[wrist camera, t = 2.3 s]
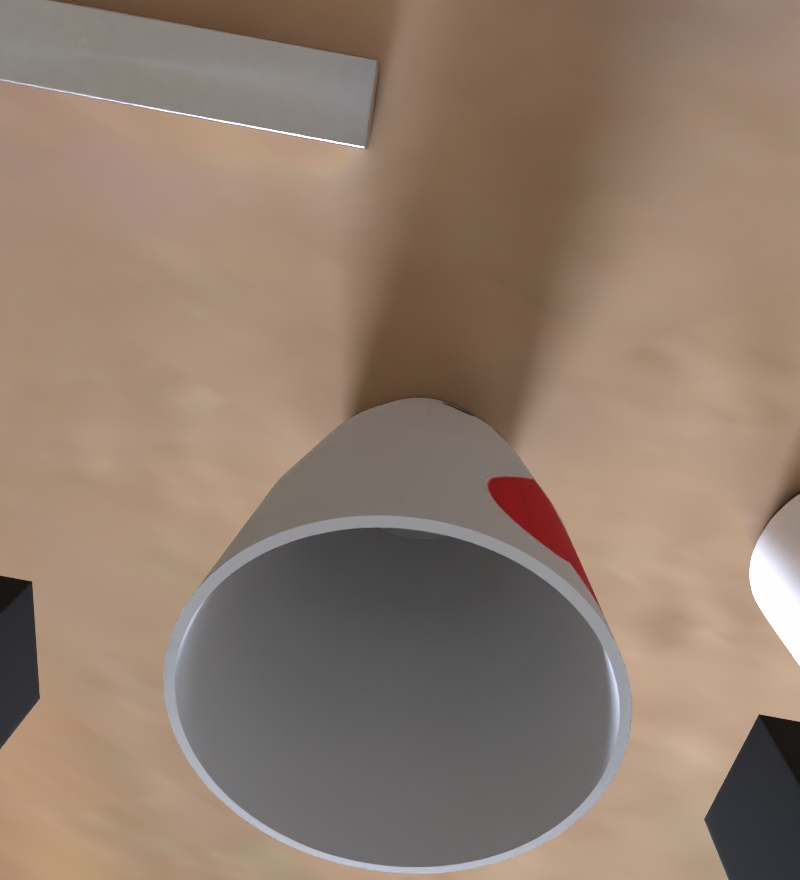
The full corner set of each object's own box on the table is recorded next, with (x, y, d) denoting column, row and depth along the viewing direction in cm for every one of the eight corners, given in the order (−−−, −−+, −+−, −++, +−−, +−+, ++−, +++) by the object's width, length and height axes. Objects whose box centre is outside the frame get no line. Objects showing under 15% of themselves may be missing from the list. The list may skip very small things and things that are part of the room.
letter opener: (381, 49, 16) (377, 40, 15) (366, 162, 17) (360, 161, 16) (-325, -82, 16) (-384, -102, 15) (-298, 38, 17) (-351, 28, 16)
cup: (561, 562, 21) (646, 861, 12) (327, 592, 22) (240, 886, 13) (530, 324, 18) (611, 478, 9) (263, 374, 19) (91, 554, 10)
